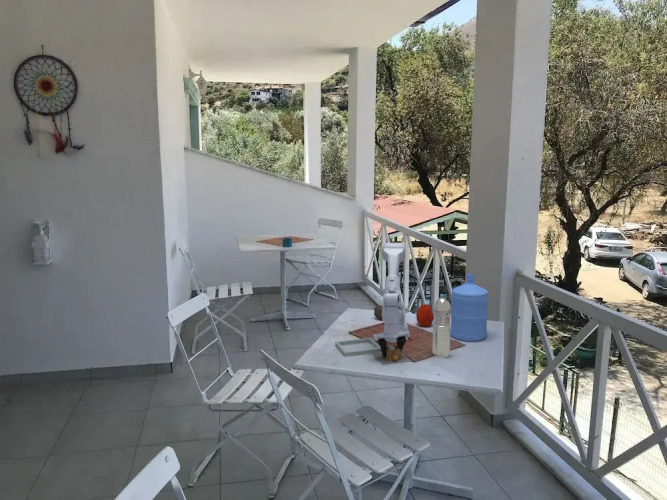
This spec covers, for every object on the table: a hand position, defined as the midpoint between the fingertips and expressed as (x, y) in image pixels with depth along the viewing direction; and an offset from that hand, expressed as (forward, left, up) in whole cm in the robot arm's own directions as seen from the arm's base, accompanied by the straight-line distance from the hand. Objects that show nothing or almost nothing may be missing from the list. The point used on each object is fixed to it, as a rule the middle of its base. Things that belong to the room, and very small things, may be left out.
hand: (391, 355), depth 211 cm
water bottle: (-21, +1, -2) cm, 21 cm away
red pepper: (-32, -37, -2) cm, 49 cm away
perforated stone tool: (-19, -50, -2) cm, 54 cm away
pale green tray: (+9, -14, -2) cm, 17 cm away
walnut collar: (0, 0, -1) cm, 1 cm away
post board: (0, 0, -2) cm, 2 cm away
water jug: (-44, -17, -2) cm, 47 cm away
